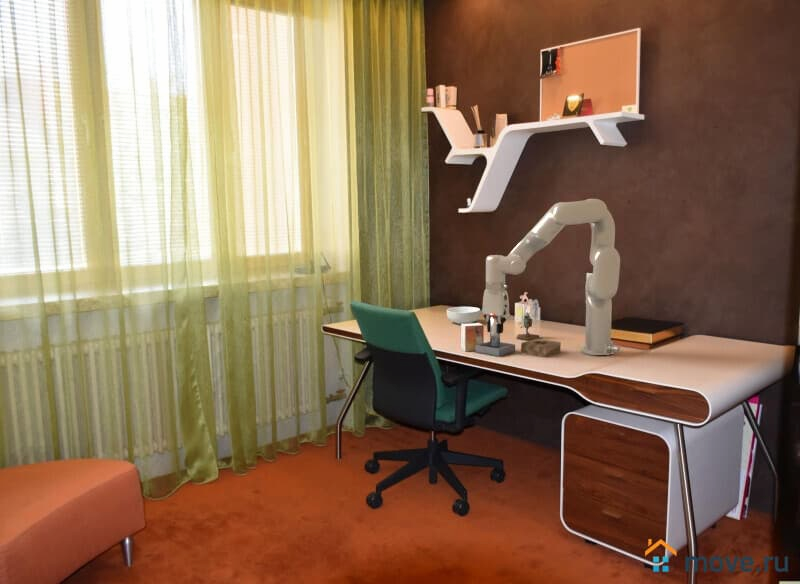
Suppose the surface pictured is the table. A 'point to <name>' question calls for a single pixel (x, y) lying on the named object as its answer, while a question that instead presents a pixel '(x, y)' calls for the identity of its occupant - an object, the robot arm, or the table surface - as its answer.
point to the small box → (471, 336)
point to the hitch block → (540, 347)
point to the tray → (495, 349)
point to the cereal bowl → (463, 314)
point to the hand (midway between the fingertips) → (495, 331)
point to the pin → (494, 331)
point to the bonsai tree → (527, 324)
